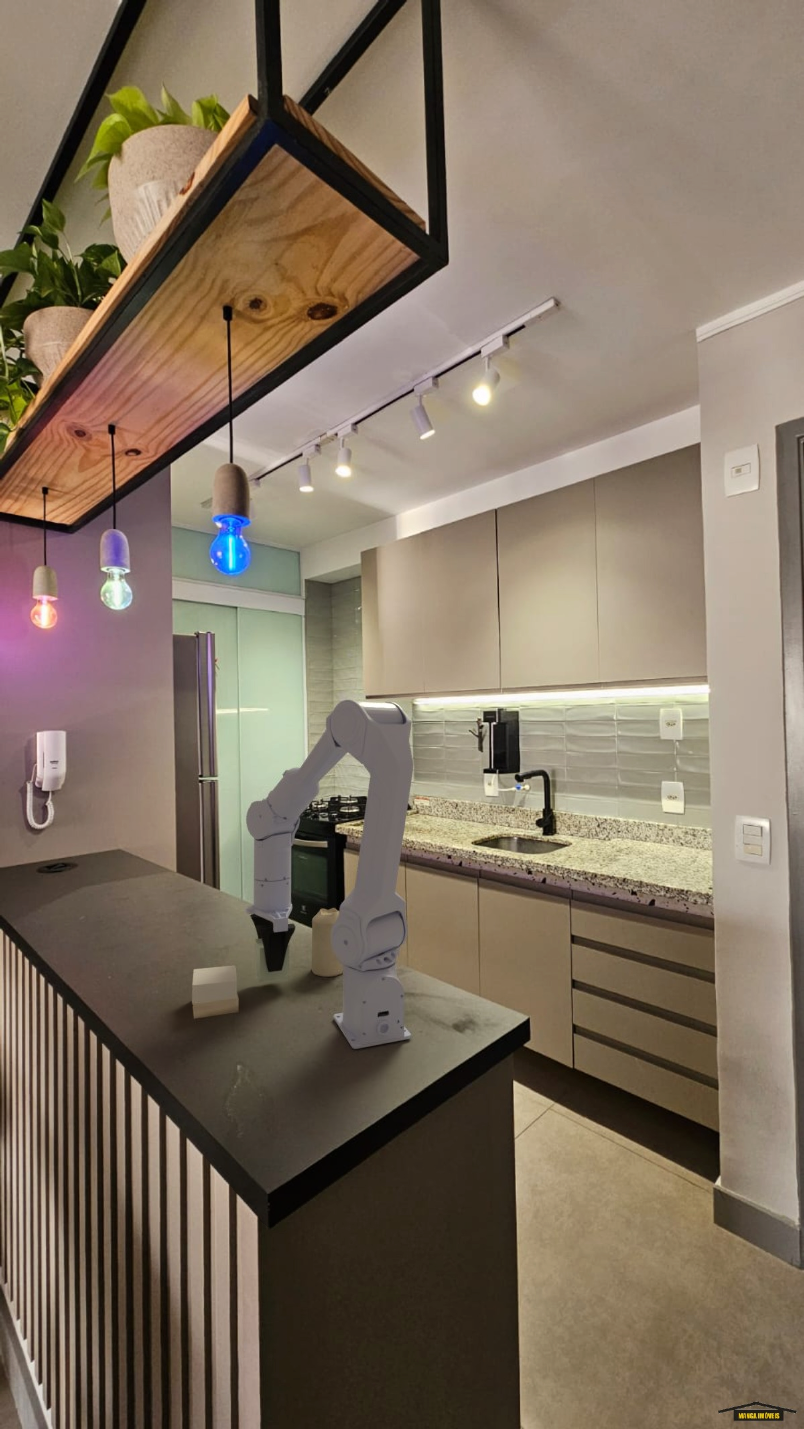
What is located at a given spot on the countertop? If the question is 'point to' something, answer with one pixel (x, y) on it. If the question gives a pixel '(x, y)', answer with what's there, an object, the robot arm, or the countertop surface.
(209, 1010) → the tower base
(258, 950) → the sage block
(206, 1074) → the countertop surface
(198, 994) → the tower top
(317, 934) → the candle
